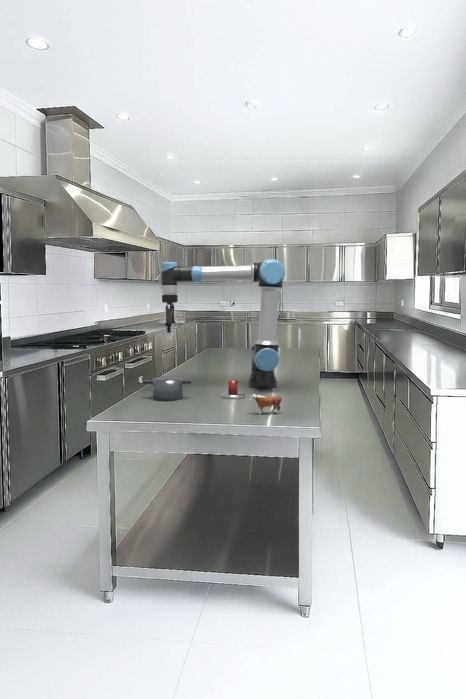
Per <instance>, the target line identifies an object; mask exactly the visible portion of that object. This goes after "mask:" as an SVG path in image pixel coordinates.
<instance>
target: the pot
mask: <svg viewBox="0 0 466 699" xmlns="http://www.w3.org/2000/svg"><path fill="white" fill-rule="evenodd" d="M142 383H143V385H152V386H151V387H152V400H154V401H157V402H175V401H180V400H182V399H184V394H183V393H184V388H183V387H184V385H186V384H188V385H190V384H192V379H183V377H179V376H170V375H169V376H167V375H166V376H157V377H154V378H152V379H151V380H150V379H149V380H147V379H145V380H143V382H142Z"/></svg>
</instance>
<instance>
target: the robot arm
mask: <svg viewBox="0 0 466 699" xmlns="http://www.w3.org/2000/svg"><path fill="white" fill-rule="evenodd" d="M285 272H286V270H285V266H284V265H283V264H282V262H281V261H279V260H277V259H275V258H272V259H266V260H263V261H259V262H251V263H250V264H243V265H209V266H207V265H206V266H203V265H202V266H201V265H199V266H198V265H178V263H177V262H176V261H163V262H161V274H160V275H161V287H160V290H161V294H162V295H161V302H162V303H166V305H165V323H164V326H165V334H166V336H165V337H166V341H167V340H173V337H175V324H176V321H175V306H174V305H175V303H178V302H179V301H178V300H179V299H178V295H177V294H178V292H179V291H178V288H179V287H178V283H181V282H182V283H183V282H185V283H197V282H198V283H199V282H200V283H201V282H226V281H228V282H229V281H231V282H232V281H251V282H252V283H258V289H259V290H260V291H261V292H260V307H259V322H258V324H259V325H258V339H257V340H256V341H255V342H252V343H251V370H250V375H249V377H248V381H247V386H248V387H250V388H254V389H272V388H273V389H274V388H277V387H278V381H277V378H276V374H275V369H276V368H277V367H278V365H279V362H280V355H279V344H280V343H279V342H278V341H277V329H278V328H277V325H278V311H279V310H278V309H279V294H280V291H281V290H282V289H283V284H284V282H283V281H284V280H283V279H284V277H285Z"/></svg>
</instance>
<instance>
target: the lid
mask: <svg viewBox="0 0 466 699" xmlns="http://www.w3.org/2000/svg"><path fill="white" fill-rule="evenodd" d="M227 382H228V383H227V384H228V386H227V390H228V391H226V392H222V393H221V395H220V396H221V397H220V398H222V399H225V400H242V399H244V398H245V397H246V396H245V392H239V391H238V388H239V387H238V385H239V383H238V380H237V379H229V380H228V381H227Z"/></svg>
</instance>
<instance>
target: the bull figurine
mask: <svg viewBox="0 0 466 699" xmlns="http://www.w3.org/2000/svg"><path fill="white" fill-rule="evenodd" d="M248 401H249V402H252V403H254V405H255V406H256V407H257V408H259V412H258V416H259V415H261V414H263V413H264V411H263V408H265V407H266V408H268V409H269V410H270V409H271V408H272V409H271V410H270V413H274V412H275V410H277V411H276V414H277V415H279V413H280V410H281V406H280V404H281V403H282V397H281V396H280V395H275V396H273V395H272V396H265V395H260V394H255V393H253V394H252V395H251V396H250V398H249V399H248Z"/></svg>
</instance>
